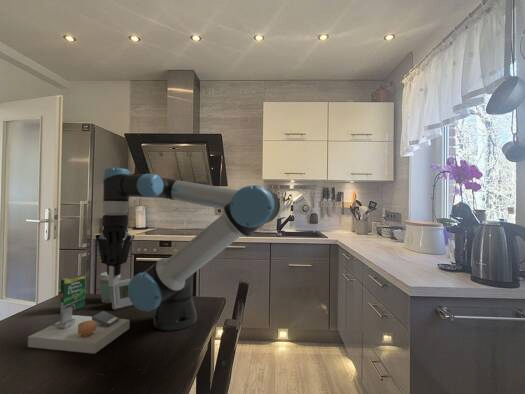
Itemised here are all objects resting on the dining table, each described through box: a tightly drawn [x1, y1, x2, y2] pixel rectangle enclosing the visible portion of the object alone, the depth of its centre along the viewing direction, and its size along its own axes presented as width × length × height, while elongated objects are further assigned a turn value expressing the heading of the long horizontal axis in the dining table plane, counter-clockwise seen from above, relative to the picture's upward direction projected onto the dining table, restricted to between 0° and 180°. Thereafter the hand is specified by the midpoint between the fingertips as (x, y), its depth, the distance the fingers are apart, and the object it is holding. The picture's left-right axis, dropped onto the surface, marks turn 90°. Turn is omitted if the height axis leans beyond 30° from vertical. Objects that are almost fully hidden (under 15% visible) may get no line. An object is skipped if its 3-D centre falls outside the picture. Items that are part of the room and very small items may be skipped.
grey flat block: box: [91, 310, 120, 327], centre depth 91 cm, size 6×5×1 cm
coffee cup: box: [98, 271, 122, 304], centre depth 120 cm, size 8×8×12 cm
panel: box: [27, 314, 131, 354], centre depth 87 cm, size 22×16×4 cm
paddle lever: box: [56, 307, 75, 328], centre depth 88 cm, size 3×4×5 cm
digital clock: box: [111, 277, 135, 310], centre depth 116 cm, size 16×9×11 cm, turn 123°
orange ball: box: [78, 320, 97, 337], centre depth 83 cm, size 5×5×5 cm
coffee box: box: [59, 274, 86, 312], centre depth 109 cm, size 8×3×13 cm, turn 149°
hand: (113, 284), depth 91 cm, fingers closed
